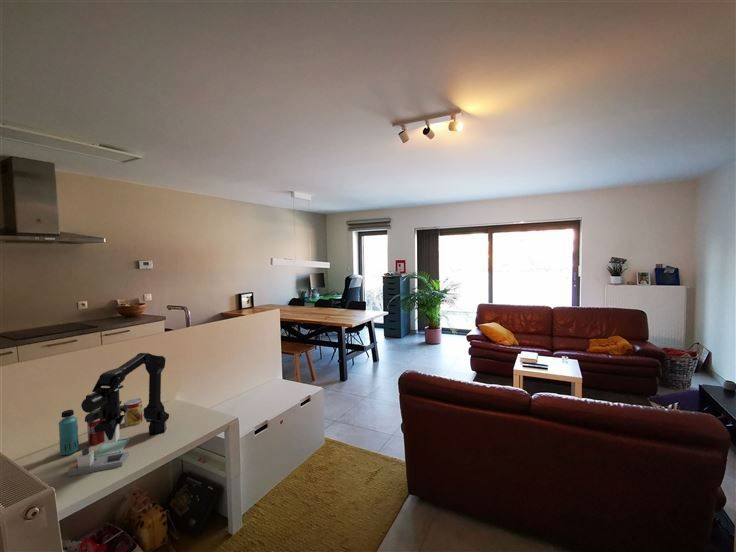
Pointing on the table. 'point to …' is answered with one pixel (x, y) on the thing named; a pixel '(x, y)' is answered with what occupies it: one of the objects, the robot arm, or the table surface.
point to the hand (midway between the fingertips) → (112, 437)
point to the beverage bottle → (68, 433)
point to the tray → (112, 447)
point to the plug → (115, 437)
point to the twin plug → (85, 458)
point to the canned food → (133, 412)
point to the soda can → (94, 434)
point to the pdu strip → (101, 463)
